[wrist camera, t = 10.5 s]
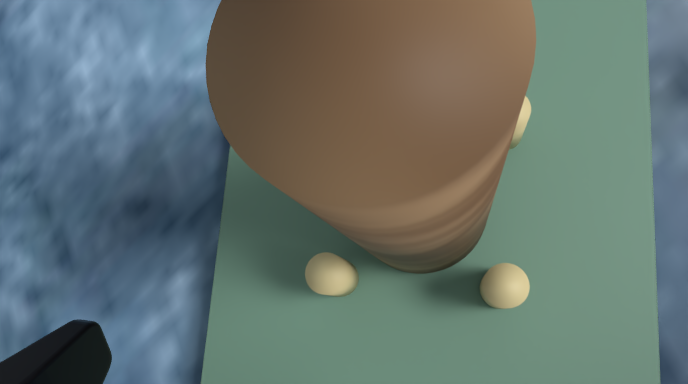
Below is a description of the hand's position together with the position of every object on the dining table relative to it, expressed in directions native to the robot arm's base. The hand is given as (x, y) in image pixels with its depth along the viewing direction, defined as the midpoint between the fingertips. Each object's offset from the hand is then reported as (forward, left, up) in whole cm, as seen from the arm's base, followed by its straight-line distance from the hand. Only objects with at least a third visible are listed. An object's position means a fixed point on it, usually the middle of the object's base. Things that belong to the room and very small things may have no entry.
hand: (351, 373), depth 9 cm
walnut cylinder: (+5, 0, -11) cm, 12 cm away
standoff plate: (+5, 0, -12) cm, 13 cm away
